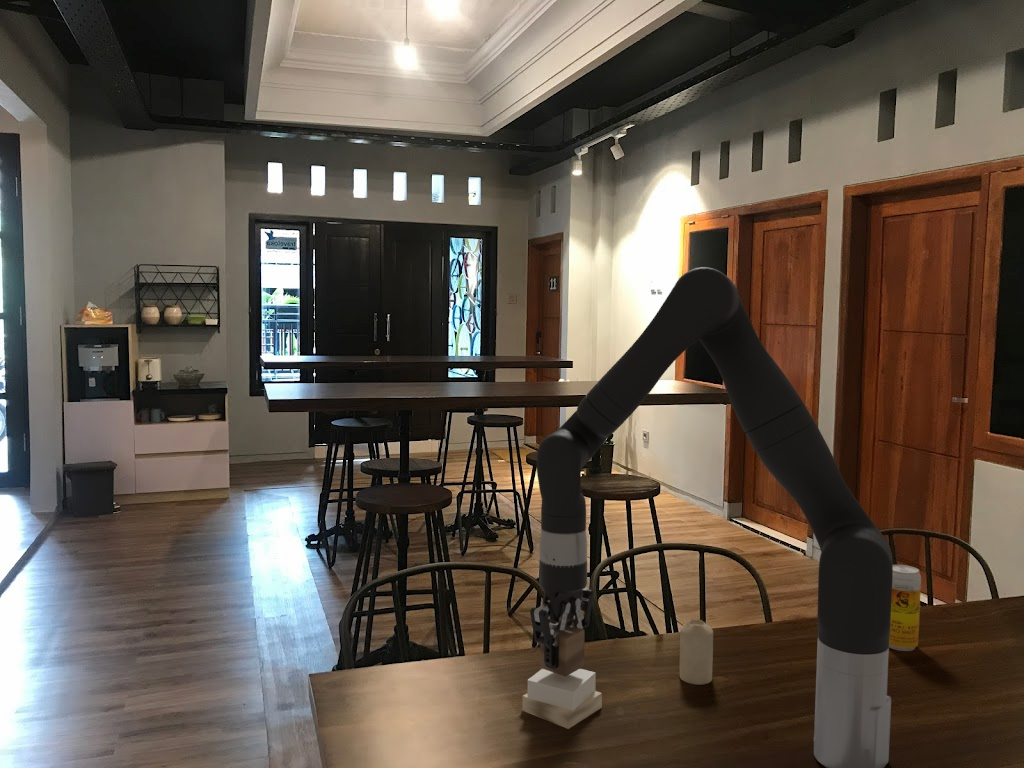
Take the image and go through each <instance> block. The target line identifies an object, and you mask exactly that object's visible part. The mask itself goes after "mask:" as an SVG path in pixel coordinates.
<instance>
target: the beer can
mask: <svg viewBox="0 0 1024 768" xmlns="http://www.w3.org/2000/svg"><path fill="white" fill-rule="evenodd" d="M921 589H922V575H921V573H920V569H919V568H917V567H914V566H911V565H910V566H909V565H905V564H893V581H892V601H891V626H890V637H889V649H893V650H896V651H900V652H902V651H903V652H912V651H914V650H915V649H916V647H918V646H919V633H920V631H919V630H920V615H921V614H920V610H921V592H922V591H921Z"/></svg>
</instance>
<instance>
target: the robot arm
mask: <svg viewBox="0 0 1024 768" xmlns="http://www.w3.org/2000/svg"><path fill="white" fill-rule="evenodd" d="M670 290H671V291H670V292H669V294H668V295H667V297H666V299H665V300H664V302H663V303H662V304H661V306H660V308H659V309H658V311H657V312H656V314H655V315H654V316H653V318H652V319H651V320H650V322H649V324H648V325H647V326H646V328H645V329H644V330H643V332H641V334H640V335H639V336H638V338H637V339H636V340H635V341H634V342H633V344H631V346H630V347H629V348H628V349H627V350H626V351H625V353H624V354H623V355H621V357H620V358H619V359H618V360H617V361H616V362H615V363H613V365H612V366H611V367H610V368H609V370H607V372H606V373H604V375H603V376H602V377H601V378H600V379H599V380H598V381H597V383H595V384H594V386H593V387H592V388H591V389H590V390H589V391H588V392H587V393H586V395H584V397H583V398H582V400H581V401H580V403H579V404H578V406H577V408H576V410H575V411H574V412H573V413H572V415H570V417H569V418H568V419H567V420H566V421H565V422H564V423H562V425H561V426H560V427H559V428H558V429H557V430H556V431H555V432H553V433H551V434H549V435H546V437H545V438H543V440H542V441H541V443H540V444H539V446H538V449H537V454H536V474H537V480H538V481H537V482H538V486H539V487H538V488H539V494H540V497H541V509H540V512H541V513H540V522H541V523H540V527H541V528H540V536H539V545H538V546H539V549H538V552H539V556H538V558H539V559H538V561H539V562H538V565H539V569H538V570H539V572H538V573H539V574H538V575H539V576H538V577H539V579H538V580H539V581H538V583H539V586H540V587H541V588H542V589H543V591H544V596H543V599H542V604H541V605H540V606H539V607H534V606H533V607H531V608H530V612H529V613H530V620H531V626H532V632H533V637H534V642H535V643H538V644H539V645H540V644H543V645H544V662H545V665H546V666H547V667H549V668H552V669H556V668H558V666H559V646H558V643H559V637H560V634H561V632H563V631H564V628H565V624H566V625H571V626H574V627H576V628H581V629H584V628H588V627H589V626H590V621H591V614H592V608H593V601H594V590H592V589H589V588H586V587H587V585H588V537H587V504H586V498H585V495H584V494H583V493H582V476H581V475H582V468H583V467H585V465H587V463H589V462H590V460H591V459H592V458H593V456H594V455H595V454H596V453H597V452H598V450H599V449H600V448H601V447H602V446H603V444H604V443H605V442H606V441H607V439H608V438H609V437H610V436H611V435H612V434H614V433H615V432H616V431H617V430H618V429H619V428H620V427H621V426H622V425H623V424H624V423H625V422H626V421H627V420H628V418H629V417H631V415H632V414H633V413H634V412H635V411H636V410H637V409H638V407H640V405H641V404H642V403H643V402H644V400H645V399H646V398H647V397H648V395H649V394H650V393H651V391H652V390H653V389H654V387H656V384H658V381H660V380H661V378H662V376H663V375H664V374H665V372H666V371H667V370H668V369H669V367H671V366H672V364H673V363H674V362H675V361H676V360H677V359H678V358H679V357H680V356H681V355H682V354H683V353H684V352H685V351H686V350H687V349H689V347H691V345H693V344H694V343H696V342H697V341H698V340H699V342H700V343H701V344H702V346H703V347H704V348H705V350H706V351H707V354H708V355H709V356H710V358H711V359H712V361H713V363H714V365H715V366H716V368H717V371H718V372H719V375H720V376H721V380H722V383H723V385H724V387H725V390H726V393H727V396H728V399H729V402H730V404H731V406H732V410H733V412H734V414H735V416H736V418H737V420H738V423H739V424H740V427H741V429H742V431H743V432H744V434H745V436H746V438H747V439H748V441H749V443H750V445H751V446H752V448H753V450H754V452H755V453H756V454H757V456H758V458H759V459H760V461H761V462H762V464H763V465H764V467H766V469H767V470H768V472H769V473H770V474H771V475H772V476H773V477H774V478H775V480H776V481H777V482H778V483H779V484H780V486H782V488H783V489H784V490H785V491H786V492H787V493H788V494H789V495H790V496H791V497H792V498H793V500H794V501H795V502H796V504H797V505H798V507H799V508H800V509H801V511H802V514H803V515H804V517H805V519H806V520H807V523H808V524H809V527H810V529H811V531H812V533H813V535H814V537H815V540H816V541H817V545H818V547H819V549H820V552H821V553H820V556H819V562H818V577H817V578H818V579H817V580H818V581H817V582H818V583H817V585H818V586H817V611H816V612H817V615H816V616H817V644H816V645H817V647H816V648H817V650H816V677H815V702H814V703H815V705H814V728H813V729H814V730H813V731H814V732H813V733H814V735H813V755H814V758H815V759H816V761H817V762H819V764H821V765H822V766H824V767H825V768H885V767H886V765H887V764H888V763H889V757H890V755H889V754H890V737H891V734H890V733H891V716H892V715H891V713H892V712H891V711H892V710H891V709H892V708H891V707H892V697H891V696H890V695H888V679H889V678H888V676H889V675H888V673H889V670H888V669H889V653H890V651H889V650H890V647H889V637H890V626H891V601H892V581H893V565H894V564H893V554H892V550H891V546H890V545H889V543H888V541H887V538H885V536H884V535H883V534H882V532H881V530H880V529H879V528H878V527H877V526H876V524H875V523H874V522H873V521H872V519H871V517H869V515H868V514H867V512H866V511H865V510H864V509H863V507H862V505H861V504H860V503H859V502H858V501H859V500H857V499H856V497H855V496H854V493H852V492H851V490H850V488H849V487H848V485H847V483H846V481H845V479H844V477H843V476H842V473H841V471H840V469H839V467H838V465H837V463H836V460H835V458H834V455H833V454H832V452H831V450H830V447H829V445H828V444H827V442H826V439H825V438H824V435H823V434H822V433H821V430H820V428H819V427H818V425H817V423H816V421H815V420H814V418H813V416H812V414H811V413H810V410H809V409H808V408H807V406H806V404H805V403H804V401H803V399H802V398H801V396H800V395H799V392H798V391H797V390H796V388H795V387H794V386H793V384H792V383H791V381H790V379H789V378H788V377H787V376H786V374H785V372H783V370H782V369H781V368H780V366H779V365H778V364H777V362H776V361H775V360H774V359H773V357H772V356H771V354H770V353H769V352H768V350H767V349H766V348H765V346H764V345H763V344H762V341H761V340H760V338H759V336H758V334H757V332H756V330H755V328H754V326H753V324H752V322H751V320H750V317H749V316H748V314H747V310H746V308H745V306H744V305H743V301H742V299H741V297H740V294H739V290H738V288H737V287H736V284H735V283H734V282H733V281H732V280H731V278H729V277H728V276H727V275H726V274H724V273H723V272H722V271H720V270H718V269H716V268H714V267H713V268H712V267H708V266H706V267H705V266H703V267H702V266H701V267H695V268H692V269H690V270H688V271H687V272H685V273H683V274H682V275H681V276H680V277H679V278H678V279H677V281H676V283H675V284H674V286H673V287H672V289H670ZM582 612H584V613H582ZM551 621H553V622H555V623H552V622H551ZM556 623H558V625H555V624H556ZM551 629H553V630H554V634H553V637H551V632H550V631H551ZM541 632H542V633H543V635H541Z"/></svg>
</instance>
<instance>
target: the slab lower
mask: <svg viewBox="0 0 1024 768" xmlns="http://www.w3.org/2000/svg"><path fill="white" fill-rule="evenodd" d="M602 700H603V693H602V692H600V691H597V690H595V691H594V692H593V693H592V694H591V695H590V696H589V697H588V698H587V699H586V700H584V701H583V702H582V703H581V704H580V705H579V706H578V707H577V708H576V709H575V710H574V711H572V710H568V709H564V708H561V707H557V706H554V705H550V704H546V703H543V702H539V701H536V700H532V699H528V692H527V693H525V694H523V695H522V711H523V712H525V713H527V714H530V715H533V716H535V717H537V718H540V719H543V720H544V721H546V722H547V721H548V722H550V723H551V724H555V725H557V726H559V727H563V728H565V729H567V730H569V729H572V727H574V726H575V725H577V724H578V723H580V722H581V721H584V720H585V719H586V718H588V717H590V716H591V715H593V714H594V713H595V712H597V711H599V710H600V709H602V706H603V701H602Z"/></svg>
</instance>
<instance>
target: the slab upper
mask: <svg viewBox="0 0 1024 768" xmlns="http://www.w3.org/2000/svg"><path fill="white" fill-rule="evenodd" d="M596 673H597V672H594V671H590V670H587V669H583V668H580V669H578V670H577V671H575V672H573V673H571V674H569V675H568V676H566V677H565V676H562V675H559V674H556V673H553V672H551V671H548V670H545V669H542V668H540V669H539V671H537V672H536V673H535V674H534V675H532V676H530V677H529V678H528V679H527V693H528V699H532V700H536V701H539V702H543V703H546V704H550V705H554V706H557V707H561V708H564V709H568V710H572V711H574V710H575V709H576V708H577V707H578V706H579V705H580V704H581V703H582V702H583V701H584V700H586V699H587V698H588V697H589V696H590V695H591V694H592V693H593V692H594V691H596V681H597V680H596V676H597V675H596Z"/></svg>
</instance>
